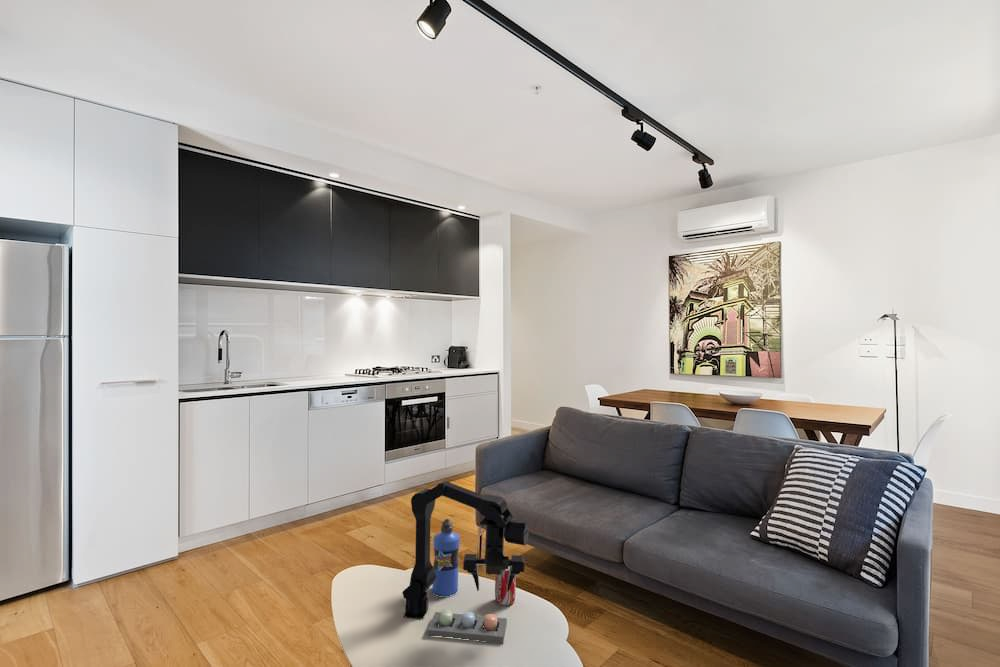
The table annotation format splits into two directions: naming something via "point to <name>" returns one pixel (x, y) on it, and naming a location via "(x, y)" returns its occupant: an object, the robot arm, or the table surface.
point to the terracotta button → (490, 622)
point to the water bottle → (446, 560)
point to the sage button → (445, 618)
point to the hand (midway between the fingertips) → (492, 590)
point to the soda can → (504, 588)
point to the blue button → (468, 620)
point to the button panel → (468, 633)
